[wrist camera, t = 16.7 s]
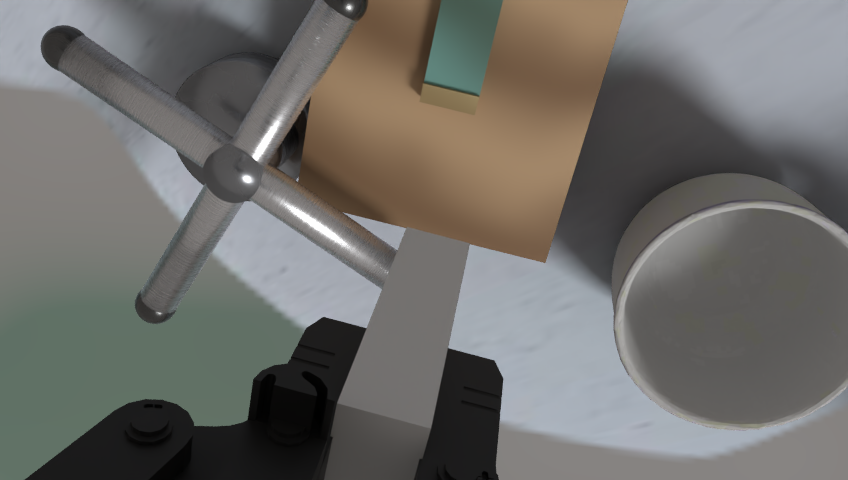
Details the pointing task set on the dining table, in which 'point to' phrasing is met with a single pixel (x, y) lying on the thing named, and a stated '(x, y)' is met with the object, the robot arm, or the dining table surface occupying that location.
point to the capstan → (233, 143)
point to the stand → (461, 116)
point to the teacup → (733, 303)
